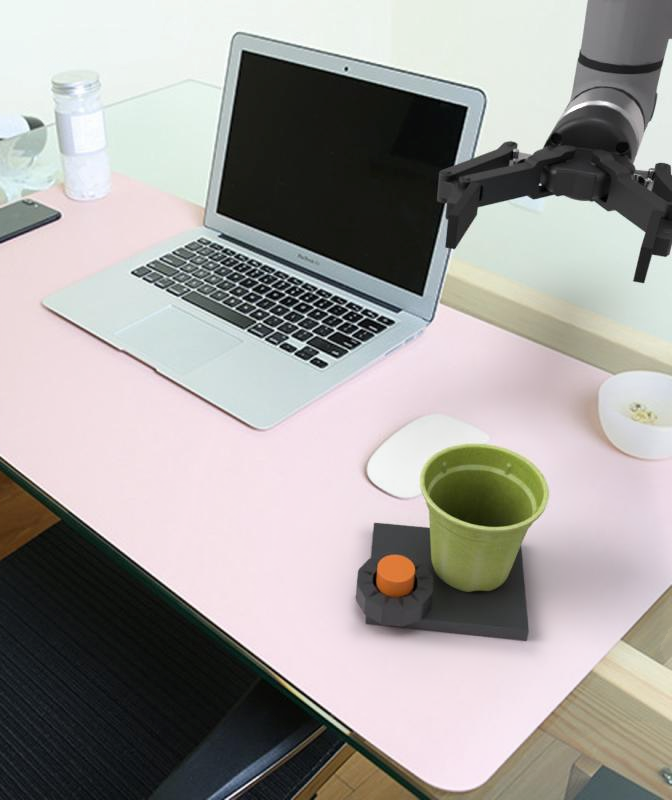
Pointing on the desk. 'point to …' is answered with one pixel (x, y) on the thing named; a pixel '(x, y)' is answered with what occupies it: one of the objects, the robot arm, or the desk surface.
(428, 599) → the dark piece
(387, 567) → the button
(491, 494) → the plant pot
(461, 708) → the desk surface
